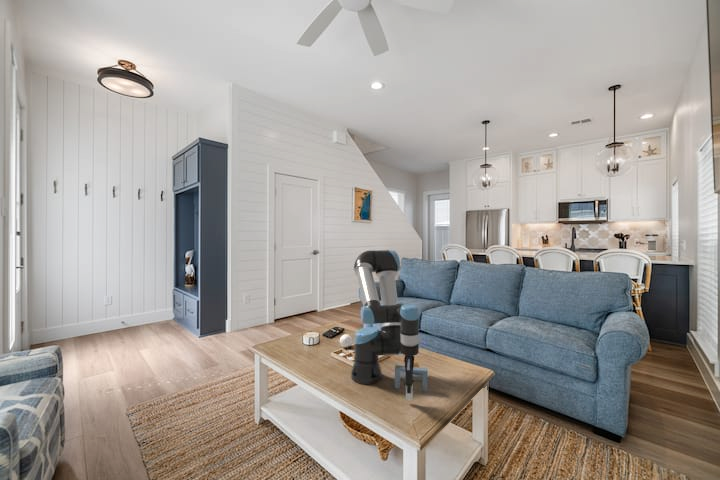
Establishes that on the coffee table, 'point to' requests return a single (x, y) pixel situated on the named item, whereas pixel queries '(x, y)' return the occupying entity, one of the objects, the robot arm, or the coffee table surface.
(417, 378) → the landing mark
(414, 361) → the ball
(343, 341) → the geometric ball
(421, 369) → the bridge
